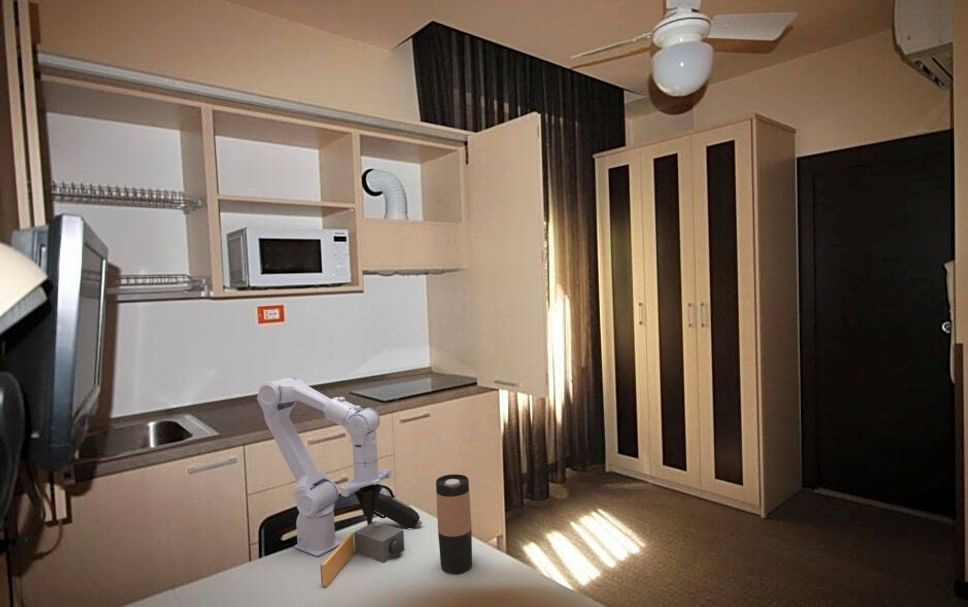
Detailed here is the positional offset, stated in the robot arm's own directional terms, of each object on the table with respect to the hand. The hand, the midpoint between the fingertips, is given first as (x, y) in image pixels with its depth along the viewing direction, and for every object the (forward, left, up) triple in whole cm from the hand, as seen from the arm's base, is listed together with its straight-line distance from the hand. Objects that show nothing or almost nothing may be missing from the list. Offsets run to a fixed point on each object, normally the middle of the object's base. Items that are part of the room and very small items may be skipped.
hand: (368, 515), depth 131 cm
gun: (-6, +14, -10) cm, 18 cm away
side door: (-1, -9, -9) cm, 13 cm away
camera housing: (+1, +2, -9) cm, 10 cm away
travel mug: (+22, +6, -10) cm, 25 cm away
